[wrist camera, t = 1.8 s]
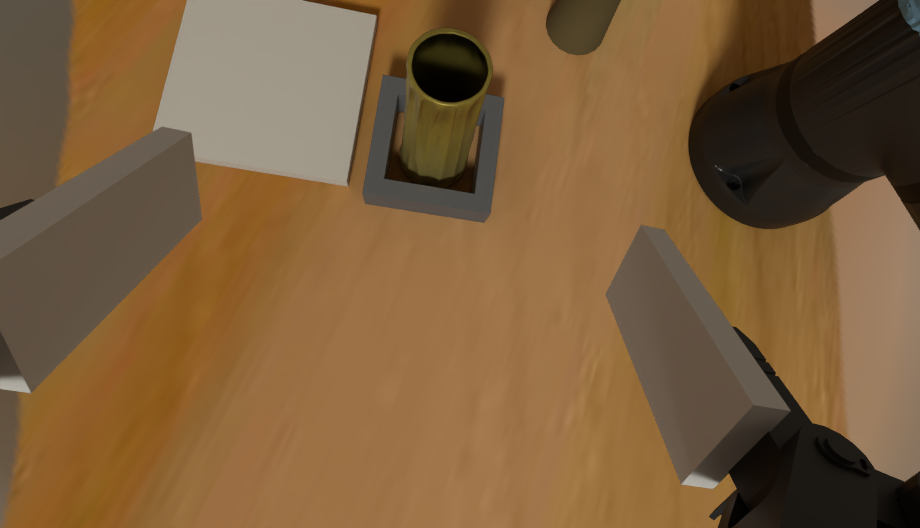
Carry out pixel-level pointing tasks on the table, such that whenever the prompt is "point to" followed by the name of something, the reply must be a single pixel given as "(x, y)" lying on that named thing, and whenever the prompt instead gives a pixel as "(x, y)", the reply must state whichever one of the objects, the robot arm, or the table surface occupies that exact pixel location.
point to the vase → (442, 104)
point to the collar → (422, 196)
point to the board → (270, 85)
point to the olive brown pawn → (580, 24)
